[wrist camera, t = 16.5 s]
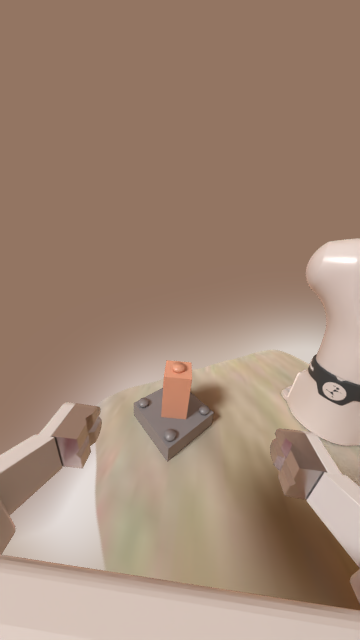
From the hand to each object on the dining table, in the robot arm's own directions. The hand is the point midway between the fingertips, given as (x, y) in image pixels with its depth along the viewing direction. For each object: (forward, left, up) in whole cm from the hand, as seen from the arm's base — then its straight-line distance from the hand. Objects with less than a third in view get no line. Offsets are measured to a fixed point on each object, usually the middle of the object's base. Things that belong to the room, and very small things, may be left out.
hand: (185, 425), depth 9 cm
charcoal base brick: (-16, -17, -29) cm, 37 cm away
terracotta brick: (-16, -17, -25) cm, 34 cm away
